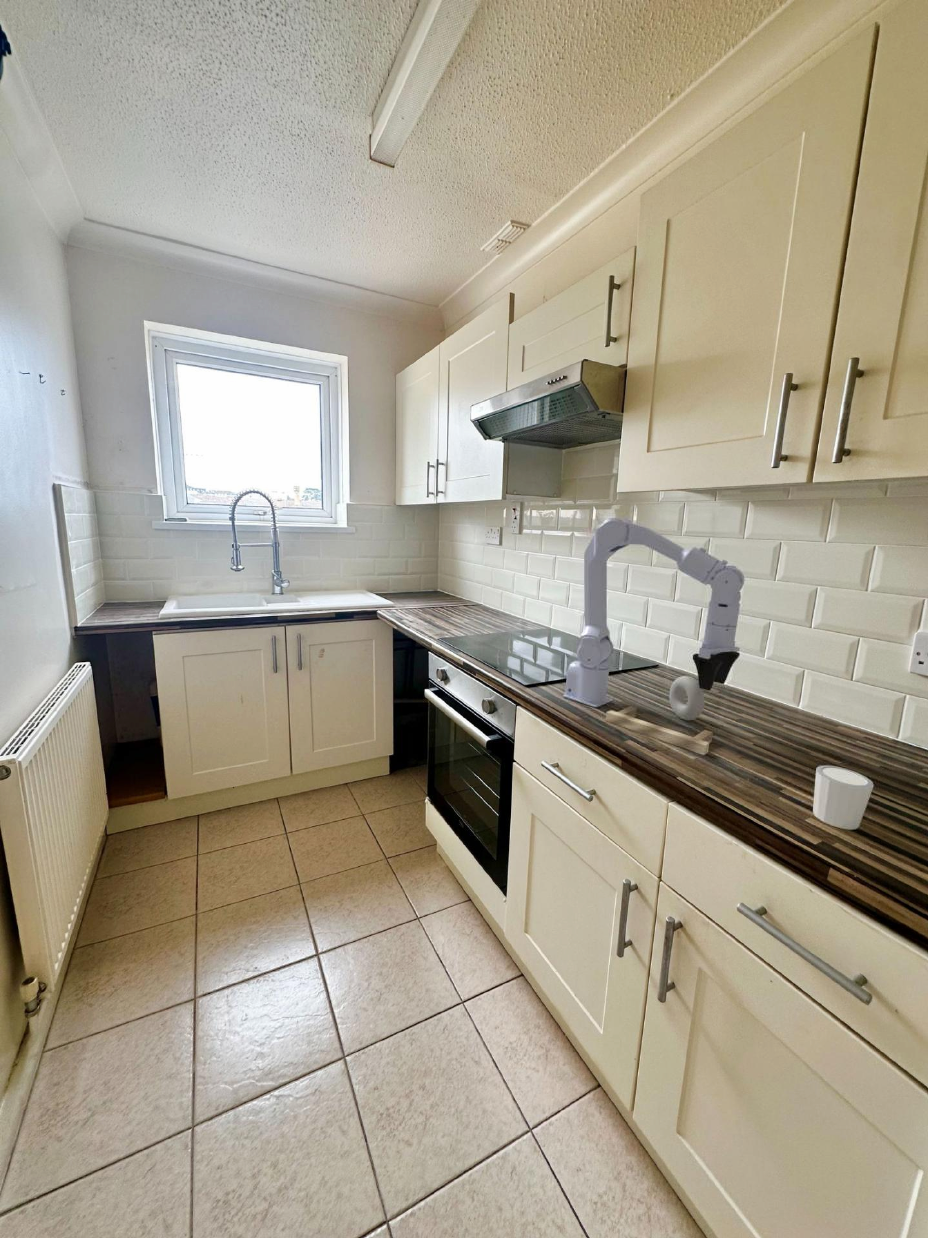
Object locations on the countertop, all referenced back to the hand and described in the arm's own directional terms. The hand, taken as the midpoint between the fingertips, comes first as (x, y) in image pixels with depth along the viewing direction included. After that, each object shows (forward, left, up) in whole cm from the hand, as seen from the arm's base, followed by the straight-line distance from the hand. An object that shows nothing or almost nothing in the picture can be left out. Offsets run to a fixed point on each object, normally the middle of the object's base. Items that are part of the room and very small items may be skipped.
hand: (712, 685), depth 106 cm
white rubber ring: (-5, +1, -10) cm, 11 cm away
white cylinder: (+27, -21, -10) cm, 35 cm away
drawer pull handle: (-5, -11, -10) cm, 15 cm away
